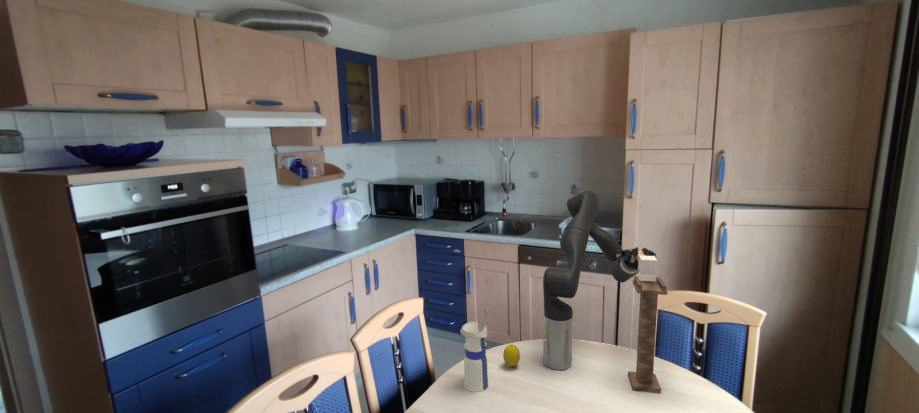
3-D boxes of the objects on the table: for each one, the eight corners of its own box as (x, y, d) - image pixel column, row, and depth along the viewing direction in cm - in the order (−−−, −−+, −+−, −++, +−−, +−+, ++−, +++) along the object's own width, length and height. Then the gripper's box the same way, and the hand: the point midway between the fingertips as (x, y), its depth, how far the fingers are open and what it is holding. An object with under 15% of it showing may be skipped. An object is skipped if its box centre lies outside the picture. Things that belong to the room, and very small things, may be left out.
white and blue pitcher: (471, 373, 139) (469, 301, 135) (494, 381, 134) (493, 307, 130) (457, 386, 133) (454, 311, 128) (480, 395, 128) (478, 317, 123)
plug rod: (640, 273, 128) (641, 259, 127) (631, 256, 143) (632, 243, 142) (656, 274, 127) (657, 260, 126) (645, 256, 142) (646, 243, 141)
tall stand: (632, 390, 128) (637, 285, 122) (628, 375, 136) (632, 275, 130) (660, 393, 126) (667, 286, 120) (654, 378, 134) (661, 277, 128)
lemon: (519, 362, 145) (519, 340, 144) (520, 371, 140) (520, 348, 138) (503, 361, 146) (503, 340, 144) (503, 370, 140) (503, 348, 139)
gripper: (612, 250, 157) (618, 238, 141) (652, 252, 154) (663, 239, 138) (612, 270, 155) (619, 260, 139) (653, 272, 152) (664, 262, 136)
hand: (641, 250), depth 138 cm, fingers closed on plug rod, 2 cm apart
